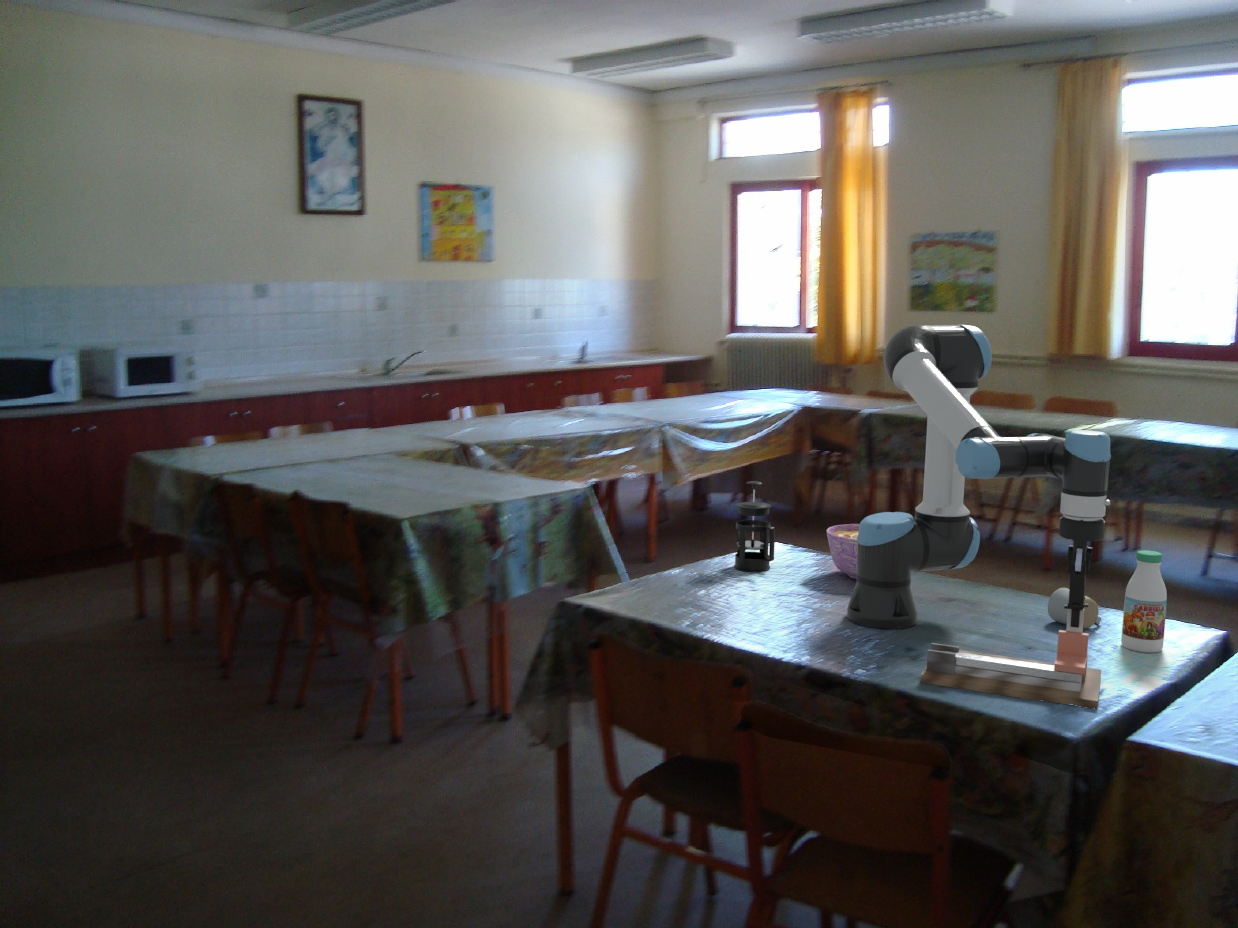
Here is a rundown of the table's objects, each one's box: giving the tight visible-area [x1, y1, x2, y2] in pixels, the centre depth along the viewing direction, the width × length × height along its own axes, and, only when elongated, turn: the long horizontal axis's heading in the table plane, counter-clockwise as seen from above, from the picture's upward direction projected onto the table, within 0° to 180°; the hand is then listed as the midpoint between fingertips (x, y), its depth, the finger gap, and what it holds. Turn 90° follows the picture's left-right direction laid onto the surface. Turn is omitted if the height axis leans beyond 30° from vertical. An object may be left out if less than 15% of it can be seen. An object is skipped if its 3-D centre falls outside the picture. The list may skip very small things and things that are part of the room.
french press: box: [733, 480, 776, 573], centre depth 283 cm, size 12×9×23 cm
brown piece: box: [920, 642, 1102, 710], centre depth 202 cm, size 30×18×6 cm, turn 65°
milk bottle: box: [1120, 549, 1168, 654], centre depth 220 cm, size 8×8×20 cm
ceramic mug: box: [1047, 587, 1102, 630], centre depth 237 cm, size 11×8×8 cm
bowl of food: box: [826, 523, 860, 580], centre depth 277 cm, size 20×20×12 cm
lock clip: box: [1054, 629, 1090, 675], centre depth 195 cm, size 5×8×5 cm, turn 155°
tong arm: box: [944, 650, 1082, 683], centre depth 198 cm, size 24×3×2 cm, turn 65°
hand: (1073, 642), depth 199 cm, fingers closed
